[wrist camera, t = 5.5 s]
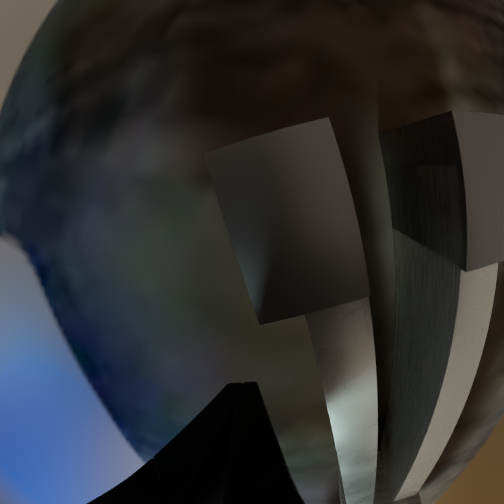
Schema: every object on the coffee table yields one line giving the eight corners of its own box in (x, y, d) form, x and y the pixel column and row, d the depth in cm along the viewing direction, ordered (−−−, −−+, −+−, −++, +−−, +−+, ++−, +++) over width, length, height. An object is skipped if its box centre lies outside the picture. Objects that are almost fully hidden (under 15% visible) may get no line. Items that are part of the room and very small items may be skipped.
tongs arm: (362, 448, 11) (373, 510, 7) (326, 457, 12) (331, 519, 8) (305, 144, 8) (328, 117, 4) (241, 162, 8) (203, 153, 4)
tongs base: (402, 462, 12) (417, 519, 7) (337, 478, 12) (342, 539, 8) (429, 131, 7) (534, 113, 2) (304, 144, 8) (335, 106, 3)
